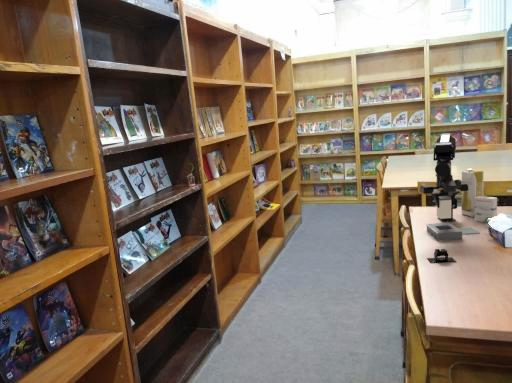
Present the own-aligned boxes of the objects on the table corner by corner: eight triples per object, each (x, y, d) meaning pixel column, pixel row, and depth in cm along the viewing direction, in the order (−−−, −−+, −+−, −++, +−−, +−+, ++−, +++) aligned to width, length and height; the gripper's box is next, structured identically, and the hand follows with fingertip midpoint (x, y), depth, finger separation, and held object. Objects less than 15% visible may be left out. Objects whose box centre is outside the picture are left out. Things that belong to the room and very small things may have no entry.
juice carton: (458, 213, 210) (459, 168, 205) (471, 211, 212) (472, 166, 207) (472, 217, 201) (472, 170, 196) (485, 215, 203) (486, 168, 198)
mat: (453, 229, 186) (453, 228, 186) (471, 228, 185) (471, 227, 185) (461, 234, 178) (461, 233, 178) (479, 233, 178) (479, 232, 178)
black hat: (455, 257, 155) (454, 246, 155) (462, 264, 148) (462, 252, 148) (421, 259, 157) (421, 247, 156) (426, 266, 150) (426, 254, 149)
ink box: (497, 220, 193) (498, 196, 190) (493, 223, 190) (493, 199, 187) (478, 218, 199) (478, 195, 197) (473, 220, 196) (474, 197, 194)
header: (426, 231, 187) (426, 224, 186) (449, 229, 186) (449, 222, 186) (437, 240, 173) (437, 233, 173) (462, 239, 173) (462, 231, 172)
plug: (436, 216, 181) (436, 196, 179) (447, 215, 180) (447, 195, 179) (440, 218, 176) (440, 198, 175) (451, 218, 176) (451, 198, 174)
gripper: (428, 177, 167) (428, 213, 170) (474, 173, 166) (474, 210, 169) (419, 172, 178) (419, 207, 181) (462, 169, 177) (462, 204, 180)
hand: (443, 207), depth 177 cm, fingers closed on plug, 4 cm apart
